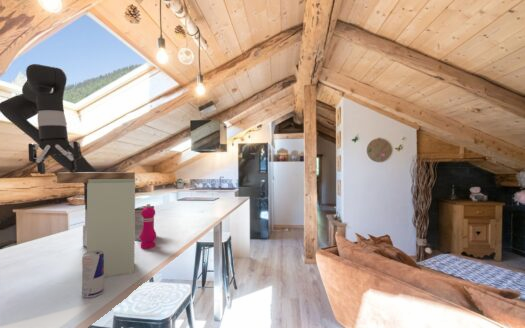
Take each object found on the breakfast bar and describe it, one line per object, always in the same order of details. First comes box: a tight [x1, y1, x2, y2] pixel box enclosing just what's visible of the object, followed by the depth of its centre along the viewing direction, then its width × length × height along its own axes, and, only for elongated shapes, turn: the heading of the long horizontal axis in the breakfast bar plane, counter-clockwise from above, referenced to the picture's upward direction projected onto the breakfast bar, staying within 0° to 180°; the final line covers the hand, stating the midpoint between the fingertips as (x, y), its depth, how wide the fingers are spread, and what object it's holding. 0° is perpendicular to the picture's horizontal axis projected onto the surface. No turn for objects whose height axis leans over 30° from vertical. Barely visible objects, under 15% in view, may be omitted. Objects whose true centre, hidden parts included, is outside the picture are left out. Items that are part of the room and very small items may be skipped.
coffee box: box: [135, 205, 155, 241], centre depth 137 cm, size 9×6×16 cm
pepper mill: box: [139, 203, 157, 250], centre depth 122 cm, size 7×7×20 cm
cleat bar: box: [56, 171, 136, 184], centre depth 92 cm, size 23×4×4 cm, turn 114°
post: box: [86, 179, 136, 278], centre depth 94 cm, size 14×10×33 cm
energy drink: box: [81, 251, 105, 299], centre depth 77 cm, size 5×5×12 cm
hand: (58, 172), depth 89 cm, fingers open, 8 cm apart
